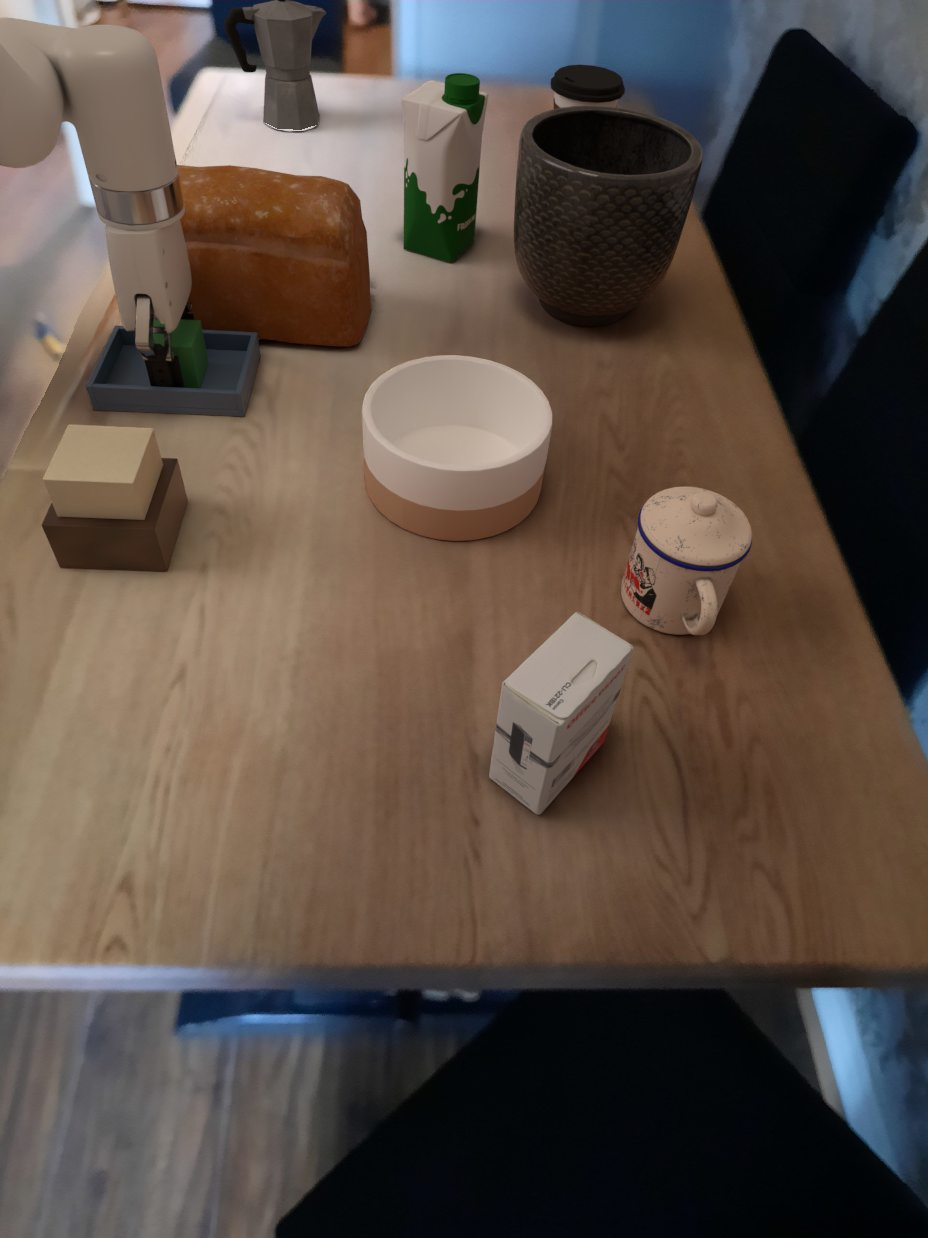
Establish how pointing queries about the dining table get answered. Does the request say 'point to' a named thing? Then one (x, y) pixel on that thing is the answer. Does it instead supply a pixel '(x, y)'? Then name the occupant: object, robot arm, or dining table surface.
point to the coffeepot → (281, 58)
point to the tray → (221, 392)
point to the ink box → (557, 710)
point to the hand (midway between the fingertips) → (176, 367)
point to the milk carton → (442, 165)
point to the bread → (276, 254)
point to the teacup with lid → (684, 559)
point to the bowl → (455, 446)
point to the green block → (188, 350)
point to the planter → (600, 208)
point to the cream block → (104, 472)
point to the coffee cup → (586, 86)
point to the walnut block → (123, 531)
